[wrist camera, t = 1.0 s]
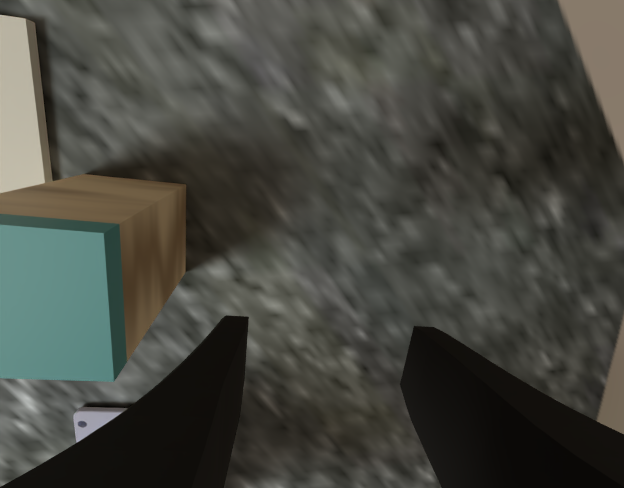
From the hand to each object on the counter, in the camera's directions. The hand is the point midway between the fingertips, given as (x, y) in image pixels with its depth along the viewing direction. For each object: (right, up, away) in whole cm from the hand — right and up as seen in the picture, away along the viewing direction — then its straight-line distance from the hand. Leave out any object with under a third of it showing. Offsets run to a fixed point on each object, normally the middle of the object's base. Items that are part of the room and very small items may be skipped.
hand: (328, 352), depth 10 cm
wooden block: (-10, +4, +9) cm, 14 cm away
